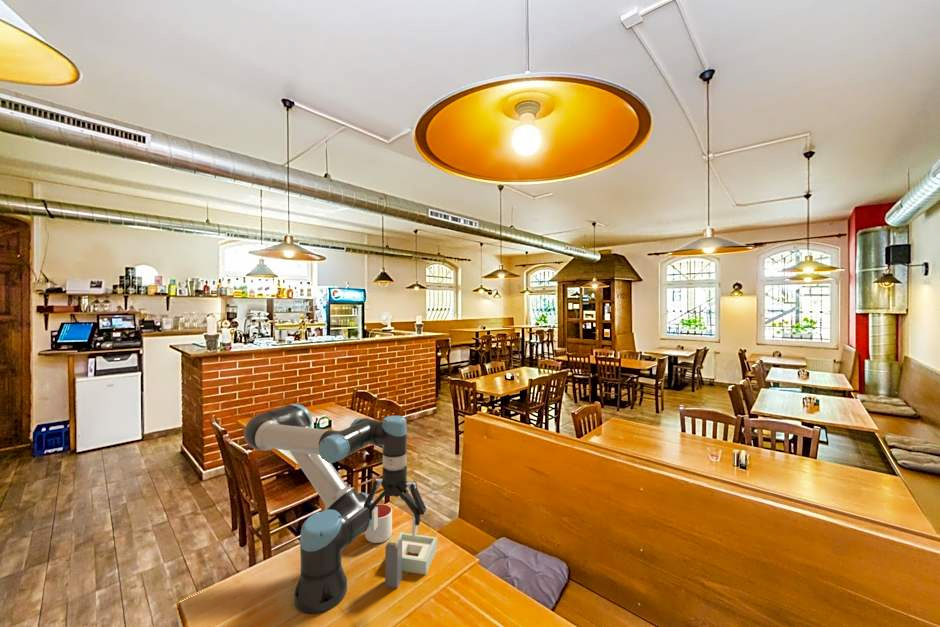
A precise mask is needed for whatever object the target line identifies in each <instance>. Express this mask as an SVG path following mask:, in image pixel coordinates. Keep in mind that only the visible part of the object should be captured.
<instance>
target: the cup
mask: <svg viewBox="0 0 940 627" xmlns="http://www.w3.org/2000/svg"><path fill="white" fill-rule="evenodd" d="M375 507H378V527H377V528H376V530H375V531H372V525H371V526H370V527H369V528H368V529H367V530H366V531H365V532H364V537H365V539H366V541H368V543H369V542H370V543H372V544H380V543H383V542H386V541H388V539H390V537H391V535H393V534H392V533H393V508H392V507H391V506H390V505H389V504H384V503H378V504H377V505H376V506H375Z"/></svg>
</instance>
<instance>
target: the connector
mask: <svg viewBox="0 0 940 627" xmlns="http://www.w3.org/2000/svg"><path fill="white" fill-rule="evenodd" d="M384 578H385V581H384V582H385V583H384V584H385V587H388V588H393V589H398V588H399V586H400V584H401V583H402V580H403V571H402V540H399V538H398V537H391V538H389V540H388V542H387V544H386V545H385V577H384Z"/></svg>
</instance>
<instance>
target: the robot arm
mask: <svg viewBox="0 0 940 627" xmlns="http://www.w3.org/2000/svg"><path fill="white" fill-rule="evenodd" d="M312 424H313V419H312V415H311V412H310V411H309V409H308V408H306V407H305V406H304V405H302V404H299V403H293V404H287V405H284V406H281V407H277V408H275V409H271V410H267V411H265V412H261V413H257V414H256V415H254V416H253V417H252V418H251V419H250V420H248V422H246V425H245V427H244V430H243V438H244V441H245V443H246V444H247V445H248V447H250V448H251V449H254V450H259V451H265V452H267V451H270V450H272V449H273V450H274V449H275V450H282V451H289V453H290V455H292V457H293V458H294V460H295V461H296V463H297V465H298V466H299V467H300V469H301V470H302V472H303V473H304V475H305V476H306V478H307V479H308V480H309V482H310V484H311V485H312V487H313V489H314V490H315V492H317V494H318V495H319V498H320V499H321V500H322V502H323V503H324V505H325V508H324V510H322V511H317V512H315V513H313V514H312V515H310V516H309V517H308V518H307V519H306V520H305V521H304V522H303V524H302V526H301V529H300V538H299V548H300V574H299V578H298V581H297V584H296V587H295V590H294V595H293V598H294V599H293V600H294V606H295V608H296V609H297V611H300V612H302V613H304V614H309V615H311V614H319V613H323V612H326V611H328V610H330V609H333V608H334V607H335V606H337V605H338V604H339V603H341V601H343V599H344V597H345V596H346V594H347V592H348V579H347V576H346V574H345V571H344V568H343V565H342V551H343V550H344V549H345V548H347V547H348V546H349V545H350V544H352V542H354V541H355V540H356V539H358V537H360V536H361V535H362V534H365V531H366V530H367V529H368V528H369V527H370V526H371V525H372V531H375V530H376V528H377V527H378V507H375V506H376V505H377V504H380V503H379V502H380V501H381V500H382V499H383V498H384V497H385V496H386V495H388V496H389V497H392V496H393V497H396V498H399V497H400V499H401V500H403V501H404V503H405V505H407V507H408V508H409V510H410V511H411V512H412V513H413V514H412V516H411V517H412V518H411V520H412V523H411V525H412V526H411V527H412V530H411V532H412V533H411V534H412V537H415V535H416V534H417V535H418V531H419V529H418V526H420V523H421V515H422V516H423V515H425V513H426V511H427V508H426V505H425V503H424V501H423V499H422V496H421V495H420V492H419V490H418V486H417V481H415V480H413V481H412V482H408V480H407V479H408V477H407V472H408V471H407V470H408V469H407V468H408V467H407V463H408V461H407V437H408V436H407V435H408V429H407V419H406V418H405V417H404V416H402V415H389V416H386V417H384V418H383V419H382V421H381V420H376V419H371V418H369V417H358V418H356V419H354V420H353V422H352V423H351V424H350V425H349V427H346V428H344V429H342V430H334V429H325V428H323V429H322V428H314V427H312ZM369 445H372V446H380V447H382V479H380V477H379V476H377V477H376V478H375V479H374V480H373V482H372V487H371V490H370V492H368V493H365V492H358V491H357V489H356V488H355V487H354V486H353V487H351V486H348V485H347V484H346V482H345V480H344V479H343V478H342V476H341V475H340V474H339V472H338V471H337V470H336V468H335V466H333V463H336V462H339V461H342V460H343V459H346V457H348V456H350V455H352V454H354V453H356V452H357V451H359V450H362V449H364V448H365V447H368V446H369ZM380 486H382V488H383V491H382V492H381V493H380V494H379V496H378V497H377V498H376V499H375V500H373V498H374V496H375V494H376V492H377V490H378V488H379V487H380ZM407 488H408V489H407ZM409 491H410V493H409Z"/></svg>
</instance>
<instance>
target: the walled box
mask: <svg viewBox="0 0 940 627" xmlns="http://www.w3.org/2000/svg"><path fill="white" fill-rule="evenodd" d="M397 538H399V540H402V572H406V573H412V574H418V575H425V576H426V575H427V574H428V571H429V569H430V567H431V564H432V562H433V559H434V558H435V555H436V553H437V550H438V537H436V536H428V535H424V534H418V533H417V534H416V535H415V537H412V533H408V532H401V531H400V533H399V535H398V536H397ZM408 553H412V554H417V555H418V556H416V555H409V554H408Z"/></svg>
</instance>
